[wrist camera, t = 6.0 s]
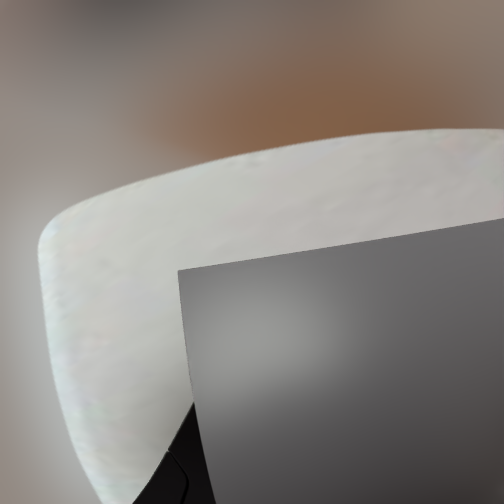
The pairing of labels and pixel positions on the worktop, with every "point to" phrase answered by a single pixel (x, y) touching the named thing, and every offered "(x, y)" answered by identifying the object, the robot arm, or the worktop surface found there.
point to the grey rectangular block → (353, 371)
